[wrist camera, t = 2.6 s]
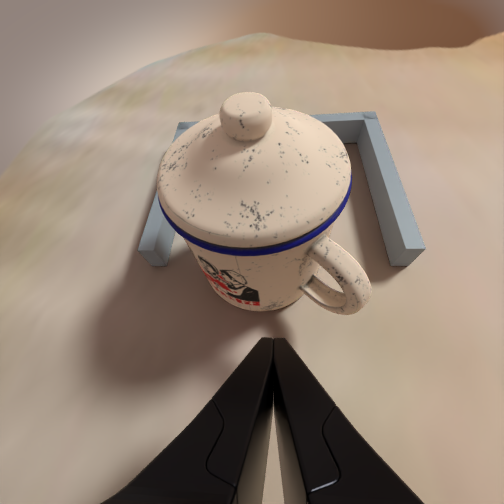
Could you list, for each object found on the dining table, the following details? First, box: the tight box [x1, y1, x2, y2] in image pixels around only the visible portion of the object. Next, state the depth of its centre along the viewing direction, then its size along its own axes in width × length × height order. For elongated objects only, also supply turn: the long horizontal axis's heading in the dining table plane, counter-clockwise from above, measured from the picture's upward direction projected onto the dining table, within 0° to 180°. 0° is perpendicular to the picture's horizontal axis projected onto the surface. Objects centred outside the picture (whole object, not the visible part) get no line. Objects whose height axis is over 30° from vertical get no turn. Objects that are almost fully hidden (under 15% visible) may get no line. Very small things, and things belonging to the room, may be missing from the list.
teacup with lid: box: [157, 92, 371, 315], centre depth 13 cm, size 12×9×12 cm
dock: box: [137, 111, 426, 266], centre depth 21 cm, size 15×19×2 cm
